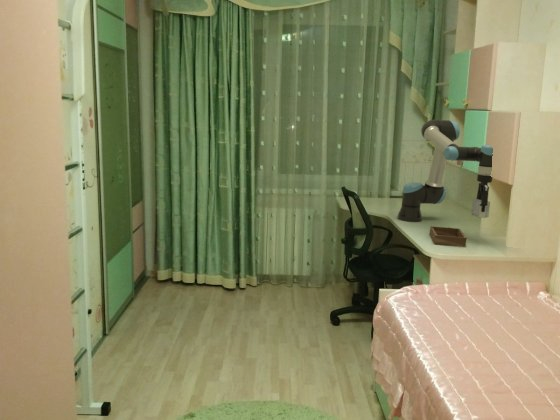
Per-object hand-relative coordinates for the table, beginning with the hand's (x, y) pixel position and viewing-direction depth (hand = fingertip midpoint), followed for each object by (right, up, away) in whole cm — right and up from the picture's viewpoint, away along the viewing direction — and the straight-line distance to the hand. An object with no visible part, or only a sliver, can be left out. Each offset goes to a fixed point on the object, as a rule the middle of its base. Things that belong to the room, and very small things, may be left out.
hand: (479, 215), depth 289 cm
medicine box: (0, 0, 0) cm, 0 cm away
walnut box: (-17, -14, +3) cm, 22 cm away
